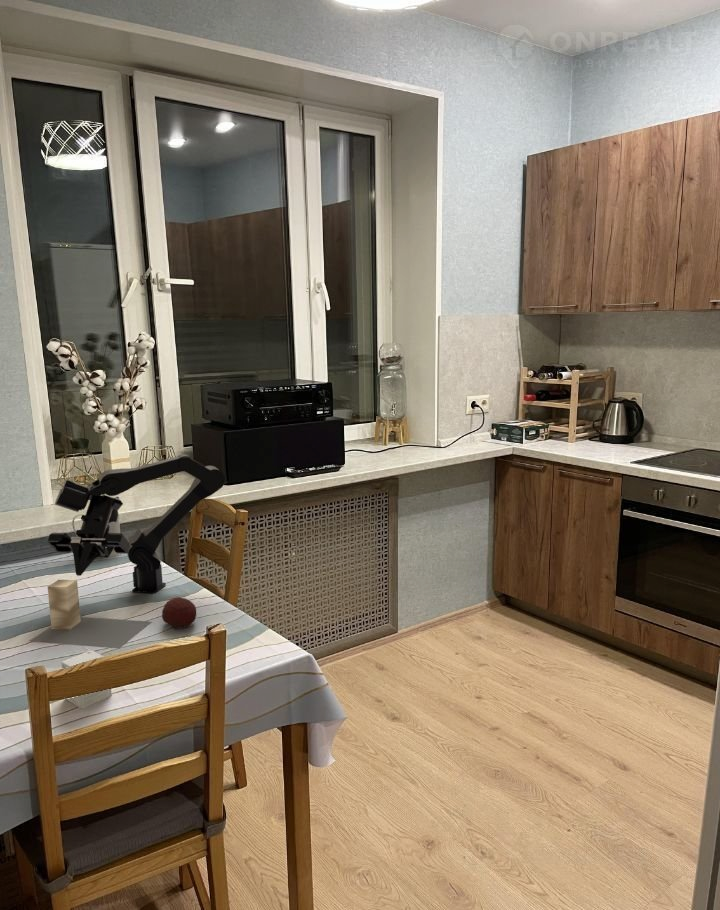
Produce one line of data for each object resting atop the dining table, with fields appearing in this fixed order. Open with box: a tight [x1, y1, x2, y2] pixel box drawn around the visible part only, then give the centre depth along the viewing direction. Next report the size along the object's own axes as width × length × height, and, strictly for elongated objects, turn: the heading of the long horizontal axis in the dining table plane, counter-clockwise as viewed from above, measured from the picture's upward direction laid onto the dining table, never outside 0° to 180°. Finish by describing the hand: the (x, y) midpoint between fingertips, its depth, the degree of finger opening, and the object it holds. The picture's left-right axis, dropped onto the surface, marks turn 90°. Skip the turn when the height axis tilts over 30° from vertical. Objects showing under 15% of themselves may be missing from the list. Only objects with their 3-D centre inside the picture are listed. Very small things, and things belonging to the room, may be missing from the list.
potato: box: [161, 596, 197, 629], centre depth 156 cm, size 7×10×6 cm
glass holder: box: [71, 509, 123, 558], centre depth 210 cm, size 9×14×15 cm, turn 131°
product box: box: [61, 650, 113, 709], centre depth 125 cm, size 6×6×7 cm
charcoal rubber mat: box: [29, 616, 152, 649], centre depth 153 cm, size 22×14×1 cm, turn 79°
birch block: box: [47, 579, 81, 630], centre depth 156 cm, size 4×4×10 cm
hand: (78, 575), depth 162 cm, fingers closed
